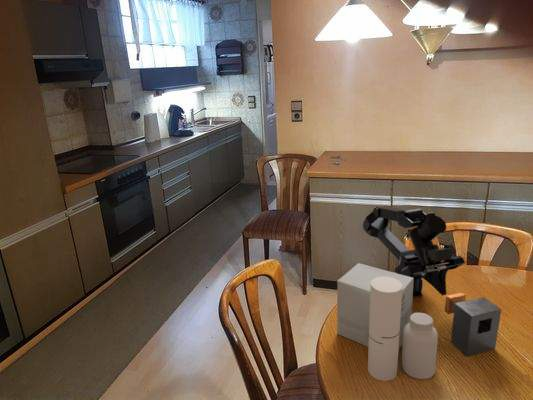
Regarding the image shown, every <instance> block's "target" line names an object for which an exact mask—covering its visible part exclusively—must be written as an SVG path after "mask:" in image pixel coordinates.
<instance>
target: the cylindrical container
mask: <svg viewBox="0 0 533 400" xmlns="http://www.w3.org/2000/svg"><path fill="white" fill-rule="evenodd" d="M401 301H402V283H401V282H400V281H399V280H397V279H395V278H391V277H377V278H374V279H373V280H372V281H371V289H370V320H369V347H368V349H367V350H368V354H367V356H368V358H367V359H368V360H367V370H368V373H369V375H370V376H371V377H372V378H374V379H376V380H379V381H385V382H387V381H392V380H394V379H395V378H396V376H397V375H398V362H399V350H400V349H399V333H400V317H401ZM398 349H399V350H398Z"/></svg>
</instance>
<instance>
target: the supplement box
mask: <svg viewBox="0 0 533 400" xmlns="http://www.w3.org/2000/svg"><path fill="white" fill-rule="evenodd" d="M377 277H391V278H395V279H397V280H399V281H400V282H401V283H402V301H401V317H400V333H399V349H398V351H399V350H400V349H401V348H402V347H403V330H404V327H405V325H406V324H408V323H409V322H410V316H411V315H412V314H413V313H412V311H413V297H414V296H413V281H414V278H413V277H408V276H404V275H401V274H397V273H396V272H393V271H389V270H387V269H386V270H385V269H381V268H377V267H374V266H371V265H368V264H367V265H366V264H365V263H364V264H363V263H359V262H357V264H355V265H354V266H353V267H352V268H351V269H350V270H348V271H347V272H346V273H344V275H343V276H341V277H340V278H339V279H337V282H336V283H337V287H336V289H337V293H336V294H337V296H336V297H337V301H336V302H337V303H336V306H337V308H336V309H337V310H336V311H337V312H336V314H337V315H336V317H337V319H336V320H337V321H336V322H337V324H336V327H337V328H336V331H337V332H336V335H339V336H342V337H345V338H346V339H348V340H351V341H354V342H356V343H358V344H361V345H362V346H364V347H367V348H369V320H370V289H371V281H372V280H373V279H374V278H377Z"/></svg>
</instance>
